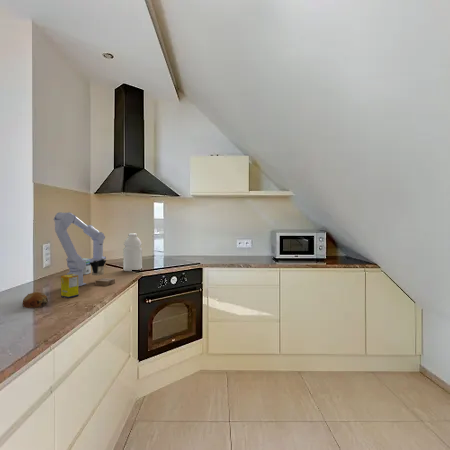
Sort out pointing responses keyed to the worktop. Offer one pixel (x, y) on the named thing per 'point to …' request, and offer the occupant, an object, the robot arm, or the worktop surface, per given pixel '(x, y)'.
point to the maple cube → (99, 271)
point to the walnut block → (105, 281)
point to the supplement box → (69, 286)
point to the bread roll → (35, 300)
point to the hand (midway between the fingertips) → (97, 272)
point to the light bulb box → (87, 266)
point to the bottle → (132, 253)
